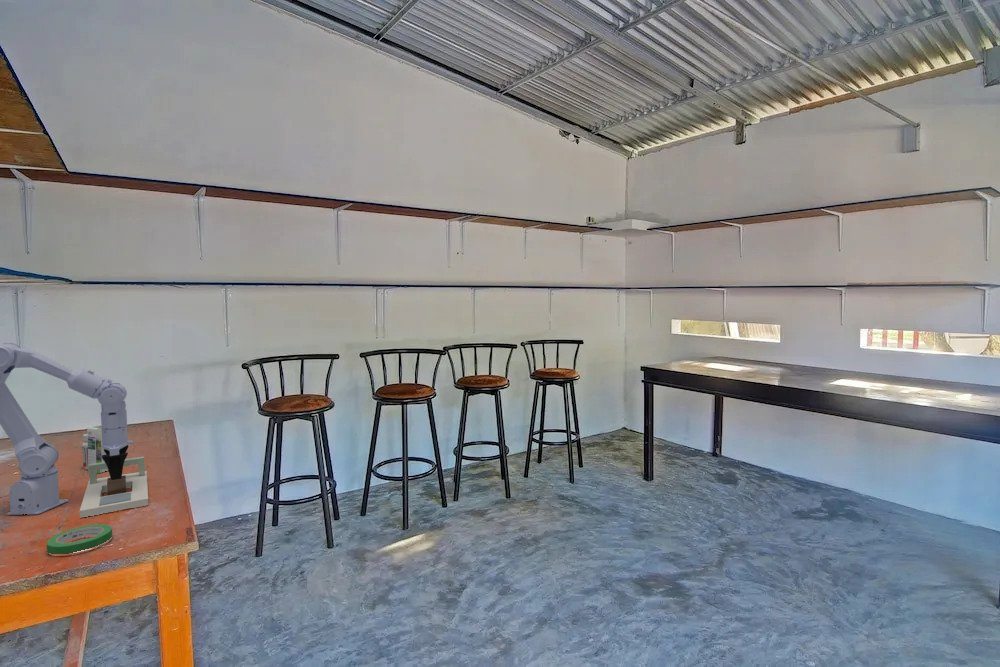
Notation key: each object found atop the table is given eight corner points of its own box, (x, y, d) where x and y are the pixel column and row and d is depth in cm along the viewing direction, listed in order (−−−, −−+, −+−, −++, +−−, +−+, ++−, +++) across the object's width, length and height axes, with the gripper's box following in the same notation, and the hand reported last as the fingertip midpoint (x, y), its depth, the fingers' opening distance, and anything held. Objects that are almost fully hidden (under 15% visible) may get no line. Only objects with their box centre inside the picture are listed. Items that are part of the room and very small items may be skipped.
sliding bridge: (144, 474, 154) (144, 457, 154) (89, 483, 147) (89, 465, 147) (144, 473, 156) (144, 456, 156) (90, 481, 148) (89, 464, 148)
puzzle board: (148, 506, 135) (148, 497, 135) (79, 518, 127) (79, 509, 126) (146, 477, 159) (146, 470, 159) (89, 486, 151) (89, 478, 151)
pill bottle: (111, 464, 173) (109, 431, 173) (94, 470, 167) (92, 435, 167) (96, 464, 174) (94, 431, 174) (78, 469, 168) (76, 435, 168)
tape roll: (43, 563, 104) (43, 550, 104) (50, 544, 113) (50, 532, 113) (111, 548, 111) (111, 536, 111) (113, 531, 120) (112, 520, 120)
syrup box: (87, 472, 165) (85, 427, 165) (107, 467, 171) (105, 424, 170) (98, 474, 163) (96, 429, 163) (118, 468, 169) (116, 425, 168)
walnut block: (125, 496, 142) (125, 478, 142) (107, 499, 140) (107, 481, 140) (126, 492, 146) (125, 475, 145) (108, 495, 143) (107, 477, 143)
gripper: (131, 429, 138) (134, 479, 139) (132, 421, 150) (134, 466, 151) (98, 433, 134) (101, 484, 135) (102, 424, 146) (104, 471, 147)
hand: (116, 475), depth 143 cm, fingers open, 7 cm apart
